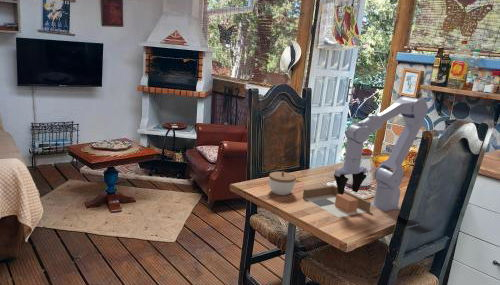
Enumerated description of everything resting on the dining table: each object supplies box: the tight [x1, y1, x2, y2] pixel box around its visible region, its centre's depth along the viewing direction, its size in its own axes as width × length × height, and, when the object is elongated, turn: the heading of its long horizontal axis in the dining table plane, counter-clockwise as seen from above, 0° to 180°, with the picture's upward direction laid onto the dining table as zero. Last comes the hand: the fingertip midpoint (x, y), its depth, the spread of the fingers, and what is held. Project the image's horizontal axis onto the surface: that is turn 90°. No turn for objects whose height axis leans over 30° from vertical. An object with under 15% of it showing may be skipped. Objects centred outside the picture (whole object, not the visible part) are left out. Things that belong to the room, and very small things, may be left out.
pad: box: [310, 199, 335, 208], centre depth 146 cm, size 8×6×1 cm
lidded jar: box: [268, 171, 297, 196], centre depth 152 cm, size 11×11×9 cm
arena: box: [302, 184, 372, 219], centre depth 145 cm, size 16×20×4 cm
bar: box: [335, 193, 358, 213], centre depth 142 cm, size 7×4×4 cm, turn 31°
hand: (347, 192), depth 141 cm, fingers open, 7 cm apart
